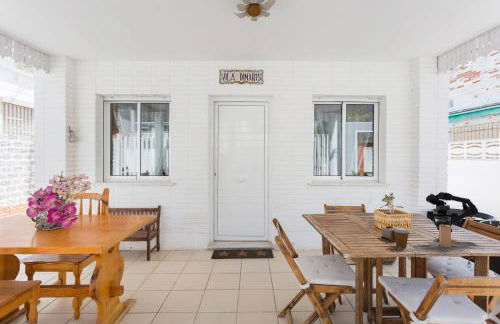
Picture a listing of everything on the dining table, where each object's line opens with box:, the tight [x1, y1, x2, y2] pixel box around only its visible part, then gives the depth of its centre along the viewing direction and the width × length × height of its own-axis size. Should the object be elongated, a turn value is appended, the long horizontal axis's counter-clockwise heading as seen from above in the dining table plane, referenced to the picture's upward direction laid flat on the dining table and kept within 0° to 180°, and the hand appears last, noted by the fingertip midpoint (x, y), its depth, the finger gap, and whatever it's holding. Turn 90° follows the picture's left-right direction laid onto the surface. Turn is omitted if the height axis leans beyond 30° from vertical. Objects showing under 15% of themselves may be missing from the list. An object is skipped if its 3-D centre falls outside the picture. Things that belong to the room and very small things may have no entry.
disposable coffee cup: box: [393, 226, 410, 248], centre depth 201 cm, size 10×10×12 cm
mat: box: [424, 241, 472, 250], centre depth 202 cm, size 22×17×1 cm
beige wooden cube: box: [451, 238, 457, 246], centre depth 200 cm, size 3×3×4 cm
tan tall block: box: [438, 224, 452, 248], centre depth 199 cm, size 6×6×14 cm
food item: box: [380, 225, 396, 242], centre depth 219 cm, size 14×8×10 cm, turn 11°
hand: (443, 225), depth 205 cm, fingers open, 9 cm apart
